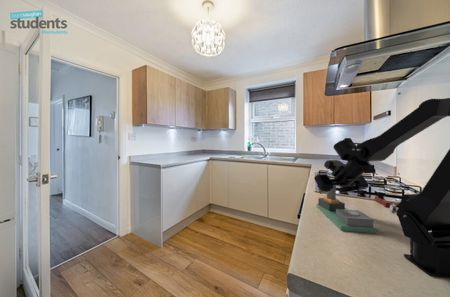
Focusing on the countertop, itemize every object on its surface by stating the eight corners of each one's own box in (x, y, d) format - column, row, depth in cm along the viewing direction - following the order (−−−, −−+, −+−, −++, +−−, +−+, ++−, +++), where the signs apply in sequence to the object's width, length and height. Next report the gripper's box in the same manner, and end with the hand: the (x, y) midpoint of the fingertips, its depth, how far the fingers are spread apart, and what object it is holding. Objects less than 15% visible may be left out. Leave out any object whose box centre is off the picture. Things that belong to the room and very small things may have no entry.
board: (375, 233, 53) (375, 228, 53) (340, 230, 55) (341, 225, 54) (340, 208, 74) (341, 204, 74) (316, 206, 75) (316, 203, 75)
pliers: (377, 211, 71) (377, 205, 71) (373, 199, 86) (374, 194, 86) (417, 219, 63) (418, 212, 63) (406, 204, 79) (406, 199, 79)
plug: (339, 209, 68) (339, 180, 68) (330, 210, 68) (331, 180, 67) (331, 205, 72) (331, 178, 72) (323, 205, 72) (323, 178, 72)
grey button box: (373, 227, 54) (373, 218, 53) (347, 225, 55) (347, 216, 55) (358, 217, 61) (358, 209, 61) (335, 215, 62) (335, 208, 62)
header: (344, 210, 67) (344, 203, 67) (330, 211, 66) (330, 204, 66) (331, 204, 74) (331, 197, 74) (318, 204, 73) (318, 198, 73)
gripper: (362, 153, 66) (340, 176, 77) (317, 153, 64) (301, 176, 75) (382, 177, 58) (354, 198, 69) (332, 178, 57) (312, 199, 68)
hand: (329, 192), depth 71 cm, fingers open, 9 cm apart
